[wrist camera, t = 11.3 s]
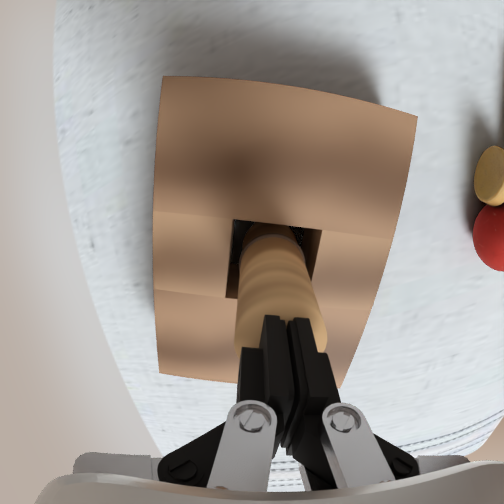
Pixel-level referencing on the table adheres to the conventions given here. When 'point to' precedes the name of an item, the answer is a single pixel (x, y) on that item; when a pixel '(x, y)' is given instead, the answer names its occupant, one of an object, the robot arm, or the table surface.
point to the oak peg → (273, 285)
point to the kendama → (490, 208)
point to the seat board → (269, 208)
